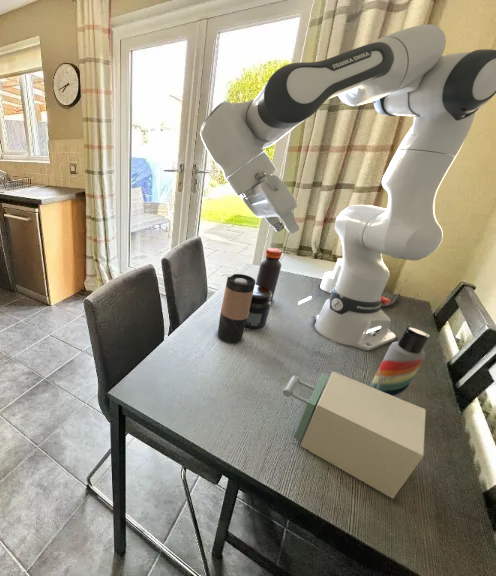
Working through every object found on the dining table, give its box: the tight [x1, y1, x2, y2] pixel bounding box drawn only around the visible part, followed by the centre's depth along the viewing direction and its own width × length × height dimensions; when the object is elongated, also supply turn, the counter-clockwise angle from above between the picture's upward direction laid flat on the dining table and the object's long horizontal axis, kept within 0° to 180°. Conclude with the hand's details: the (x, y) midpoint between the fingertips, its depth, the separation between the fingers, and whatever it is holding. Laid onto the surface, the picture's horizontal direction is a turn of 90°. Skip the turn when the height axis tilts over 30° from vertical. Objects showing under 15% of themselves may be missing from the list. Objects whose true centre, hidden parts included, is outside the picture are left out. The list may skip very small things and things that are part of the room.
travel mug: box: [217, 273, 256, 345], centre depth 91 cm, size 8×8×20 cm
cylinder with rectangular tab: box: [319, 257, 343, 294], centre depth 122 cm, size 9×9×12 cm
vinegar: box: [255, 247, 283, 303], centre depth 113 cm, size 7×7×20 cm
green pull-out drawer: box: [282, 372, 330, 441], centre depth 62 cm, size 18×11×10 cm, turn 46°
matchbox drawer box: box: [300, 371, 427, 500], centre depth 59 cm, size 15×13×12 cm
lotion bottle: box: [369, 326, 430, 400], centre depth 68 cm, size 6×6×20 cm
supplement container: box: [245, 284, 272, 331], centre depth 100 cm, size 10×10×12 cm
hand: (287, 230), depth 66 cm, fingers open, 8 cm apart
